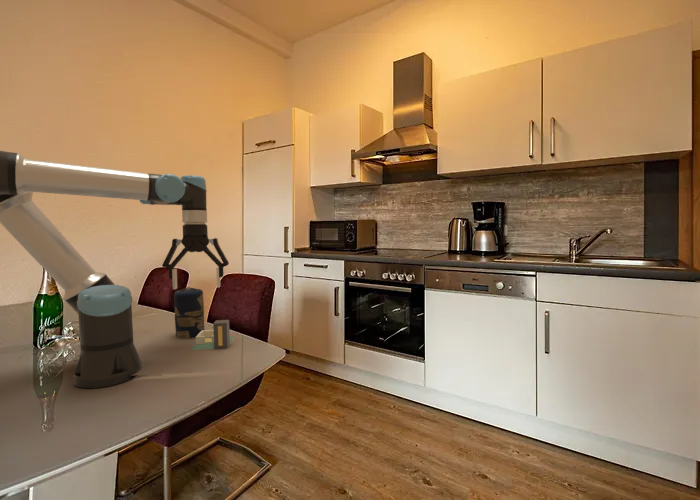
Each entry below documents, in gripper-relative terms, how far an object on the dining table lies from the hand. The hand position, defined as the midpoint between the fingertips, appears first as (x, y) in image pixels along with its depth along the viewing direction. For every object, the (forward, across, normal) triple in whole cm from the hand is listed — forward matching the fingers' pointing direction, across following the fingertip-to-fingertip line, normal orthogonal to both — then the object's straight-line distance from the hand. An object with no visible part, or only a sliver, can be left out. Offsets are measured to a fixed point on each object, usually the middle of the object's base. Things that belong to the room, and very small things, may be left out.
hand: (197, 287), depth 122 cm
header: (+18, -4, +1) cm, 18 cm away
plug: (+18, -8, +8) cm, 21 cm away
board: (+19, -5, +3) cm, 20 cm away
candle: (+19, +4, -8) cm, 21 cm away
